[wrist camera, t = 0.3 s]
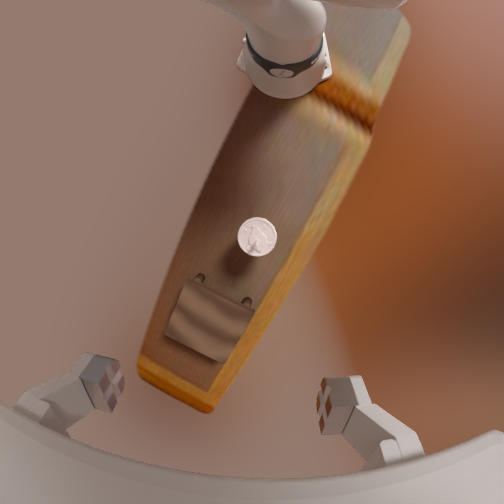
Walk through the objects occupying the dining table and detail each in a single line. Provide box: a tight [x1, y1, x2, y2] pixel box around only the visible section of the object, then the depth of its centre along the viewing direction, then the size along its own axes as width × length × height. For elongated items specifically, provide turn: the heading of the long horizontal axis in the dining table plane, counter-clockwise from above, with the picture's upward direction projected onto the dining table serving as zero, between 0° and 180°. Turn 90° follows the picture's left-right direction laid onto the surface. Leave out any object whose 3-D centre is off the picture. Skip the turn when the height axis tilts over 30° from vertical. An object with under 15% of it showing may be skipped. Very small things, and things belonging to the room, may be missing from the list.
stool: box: [164, 273, 255, 364], centre depth 57 cm, size 14×14×7 cm
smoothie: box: [238, 217, 277, 257], centre depth 48 cm, size 6×6×14 cm
